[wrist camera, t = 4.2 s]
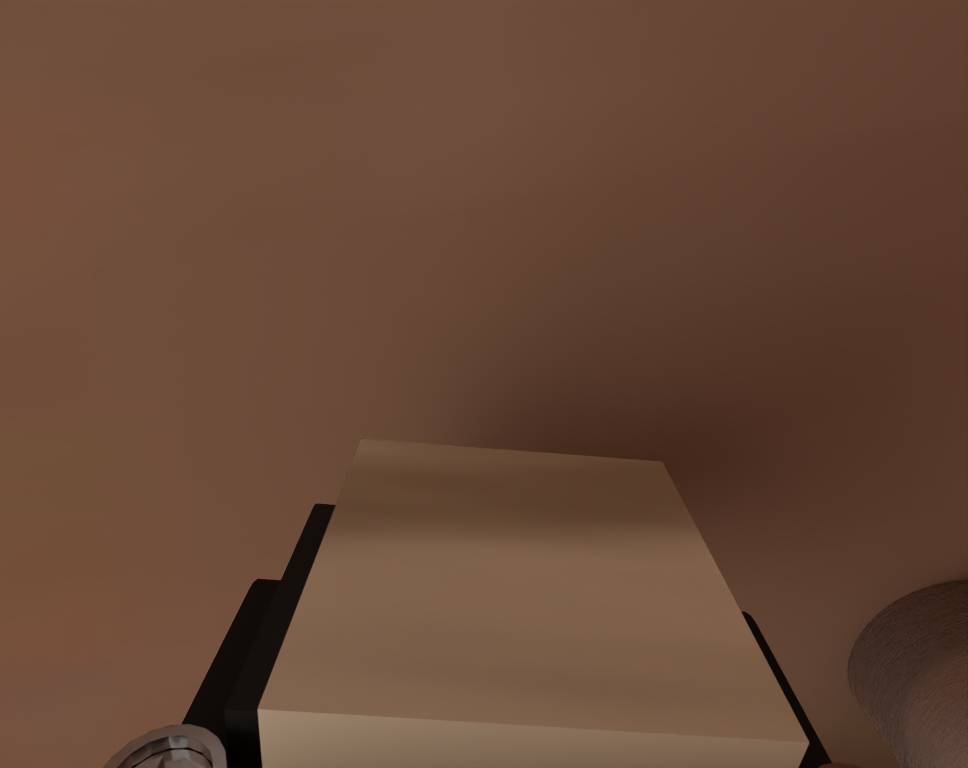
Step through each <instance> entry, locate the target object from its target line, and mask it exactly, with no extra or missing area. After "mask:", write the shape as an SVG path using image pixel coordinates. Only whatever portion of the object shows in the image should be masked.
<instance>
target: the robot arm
mask: <svg viewBox="0 0 968 768" xmlns="http://www.w3.org/2000/svg"><path fill="white" fill-rule="evenodd" d="M335 506H336V505H329V504H315V505H314V507H313V509H312V511H311V514H310V516H309V518H308V520H307V523H306V525H305V527H304V529H303V532H302V534H301V536H300V538H299V541H298V543H297V545H296V547H295V550H294V552H293V554H292V557H291V559H290V561H289V563H288V566H287V568H286V570H285V572H284V575H283V577H282V579H281V580H267V579H257V580H256V581H254V582H253V584H252V586H251V587H250V589H249V591H248V593H247V595H246V597H245V599H244V601H243V603H242V605H241V607H240V609H239V611H238V613H237V615H236V617H235V619H234V621H233V623H232V625H231V627H230V629H229V631H228V633H227V635H226V637H225V639H224V641H223V643H222V645H221V647H220V649H219V651H218V653H217V655H216V657H215V658H214V660H213V662H212V664H211V666H210V668H209V670H208V672H207V674H206V676H205V678H204V680H203V682H202V684H201V686H200V688H199V690H198V692H197V694H196V696H195V698H194V700H193V702H192V704H191V706H190V708H189V710H188V712H187V714H186V716H185V718H184V720H183V722H182V724H181V725H169V726H166V727H162V728H159V729H156V730H152V731H149V732H148V733H146V734H144V735H142V736H140V737H138V738H136V739H135V740H133V741H131V742H129V743H128V744H127V745H126V746H125V747H123V748H122V749H121V750H120V751H119V752H117V753H116V754H115V755H114V756H112V757H111V759H110V760H109V761H108V762H107V764H106V765H105V766H104V767H103V768H262V757H261V745H260V733H259V722H258V710H257V709H258V706H259V704H260V701H261V699H262V696H263V693H264V691H265V688H266V686H267V683H268V680H269V678H270V675H271V673H272V670H273V667H274V665H275V662H276V660H277V657H278V654H279V652H280V649H281V647H282V644H283V641H284V639H285V636H286V634H287V631H288V628H289V626H290V623H291V621H292V618H293V615H294V613H295V610H296V608H297V605H298V602H299V600H300V597H301V595H302V592H303V589H304V587H305V584H306V582H307V579H308V576H309V574H310V571H311V569H312V566H313V563H314V561H315V558H316V556H317V553H318V550H319V548H320V545H321V543H322V540H323V537H324V535H325V532H326V530H327V527H328V524H329V522H330V519H331V517H332V514H333V511H334V509H335ZM733 598H734V597H733ZM741 613H742V615H743V617H744V619H745V620H746V622H747V624H748V626H749V628H750V630H751V632H752V634H753V636H754V638H755V640H756V641H757V643H758V645H759V647H760V649H761V651H762V653H763V655H764V657H765V659H766V661H767V662H768V664H769V666H770V668H771V670H772V672H773V674H774V676H775V678H776V680H777V682H778V683H779V685H780V687H781V689H782V691H783V693H784V695H785V697H786V699H787V701H788V703H789V704H790V706H791V708H792V710H793V712H794V714H795V716H796V718H797V720H798V722H799V724H800V725H801V727H802V729H803V731H804V733H805V735H806V737H807V739H808V741H809V745H808V747H807V749H806V752H805V754H804V756H803V759H802V761H801V763H800V765H799V768H860V767H858V766H855V765H850V764H844V763H838V762H837V763H832V762H831V760H830V758H829V757H828V755H827V753H826V751H825V749H824V747H823V746H822V744H821V742H820V740H819V738H818V736H817V734H816V733H815V731H814V729H813V727H812V725H811V723H810V722H809V720H808V718H807V716H806V714H805V712H804V711H803V709H802V707H801V705H800V703H799V701H798V699H797V698H796V696H795V694H794V692H793V690H792V688H791V687H790V685H789V683H788V681H787V679H786V677H785V676H784V674H783V672H782V670H781V668H780V666H779V664H778V663H777V661H776V659H775V657H774V655H773V653H772V652H771V650H770V648H769V646H768V644H767V642H766V640H765V639H764V637H763V635H762V633H761V631H760V629H759V628H758V626H757V624H756V622H755V621H754V619H753V618H752V617H751V615H749V614H748V613H746V612H742V611H741Z"/></svg>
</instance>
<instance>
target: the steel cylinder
mask: <svg viewBox="0 0 968 768" xmlns="http://www.w3.org/2000/svg"><path fill="white" fill-rule="evenodd" d="M848 681H849V686H850V689H851V691H852V693H853V696H854V697H855V699H856V700H857V702H858V703H859V705H860V706H861V708H862V709H863V710H864V712H865V713H866V715H867V716H868V718H869V719H870V721H871V722H872V724H873V725H874V727H875V728H876V730H877V731H878V733H879V734H880V736H881V737H882V738H883V740H884V741H885V743H886V744H887V746H888V747H889V749H890V750H891V752H892V753H893V755H894V756H895V758H896V759H897V761H898V762H899V763H900V765H901V766H902V768H968V581H956V582H948V583H943V584H937V585H934V586H930V587H927V588H924V589H921V590H919V591H916V592H913V593H911V594H909V595H907V596H905V597H903V598H901V599H899V600H898V601H896V602H895V603H893V604H891V605H890V606H888V607H887V608H886V609H884V610H883V611H882V612H881V613H879V614H878V615H877V616H876V617H875V618H874V619H873V620H872V621H871V622H870V623H869V624H868V625H867V626H866V628H865V629H864V630H863V631H862V633H861V634H860V636H859V637H858V639H857V640H856V642H855V644H854V647H853V649H852V651H851V654H850V658H849V662H848Z"/></svg>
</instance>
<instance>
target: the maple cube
mask: <svg viewBox="0 0 968 768" xmlns="http://www.w3.org/2000/svg"><path fill="white" fill-rule="evenodd" d="M257 710H258V722H259V733H260V745H261V757H262V768H799V765H800V763H801V761H802V759H803V756H804V754H805V752H806V749H807V747H808V745H809V741H808V739H807V737H806V735H805V733H804V731H803V729H802V727H801V725H800V724H799V722H798V720H797V718H796V716H795V714H794V712H793V710H792V708H791V706H790V704H789V703H788V701H787V699H786V697H785V695H784V693H783V691H782V689H781V687H780V685H779V683H778V682H777V680H776V678H775V676H774V674H773V672H772V670H771V668H770V666H769V664H768V662H767V661H766V659H765V657H764V655H763V653H762V651H761V649H760V647H759V645H758V643H757V641H756V640H755V638H754V636H753V634H752V632H751V630H750V628H749V626H748V624H747V622H746V620H745V619H744V617H743V615H742V613H741V611H740V609H739V607H738V605H737V603H736V601H735V599H734V598H733V596H732V594H731V592H730V590H729V588H728V586H727V584H726V582H725V580H724V578H723V576H722V575H721V573H720V571H719V569H718V567H717V565H716V563H715V561H714V559H713V557H712V555H711V554H710V552H709V550H708V548H707V546H706V544H705V542H704V540H703V538H702V536H701V534H700V533H699V531H698V529H697V527H696V525H695V523H694V521H693V519H692V517H691V515H690V513H689V512H688V510H687V508H686V506H685V504H684V502H683V500H682V498H681V496H680V494H679V492H678V491H677V489H676V487H675V485H674V483H673V481H672V479H671V477H670V475H669V473H668V471H667V470H666V468H665V466H664V464H663V462H662V461H649V460H636V459H622V458H609V457H596V456H583V455H570V454H557V453H544V452H531V451H518V450H505V449H492V448H479V447H466V446H452V445H439V444H426V443H413V442H400V441H387V440H374V439H361V441H360V444H359V446H358V449H357V452H356V454H355V457H354V459H353V462H352V465H351V467H350V470H349V472H348V475H347V478H346V480H345V483H344V485H343V488H342V491H341V493H340V496H339V498H338V501H337V504H336V506H335V509H334V511H333V514H332V517H331V519H330V522H329V524H328V527H327V530H326V532H325V535H324V537H323V540H322V543H321V545H320V548H319V550H318V553H317V556H316V558H315V561H314V563H313V566H312V569H311V571H310V574H309V576H308V579H307V582H306V584H305V587H304V589H303V592H302V595H301V597H300V600H299V602H298V605H297V608H296V610H295V613H294V615H293V618H292V621H291V623H290V626H289V628H288V631H287V634H286V636H285V639H284V641H283V644H282V647H281V649H280V652H279V654H278V657H277V660H276V662H275V665H274V667H273V670H272V673H271V675H270V678H269V680H268V683H267V686H266V688H265V691H264V693H263V696H262V699H261V701H260V704H259V706H258V709H257Z"/></svg>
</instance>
